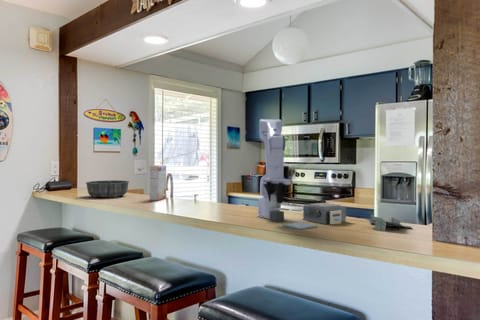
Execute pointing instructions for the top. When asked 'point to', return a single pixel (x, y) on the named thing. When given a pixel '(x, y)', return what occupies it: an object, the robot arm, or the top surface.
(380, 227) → the metal bracket
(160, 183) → the cracker box
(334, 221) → the label tile
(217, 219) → the top surface
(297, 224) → the pad
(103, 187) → the bundt pan
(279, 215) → the rubber block
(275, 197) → the cylinder
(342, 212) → the box
